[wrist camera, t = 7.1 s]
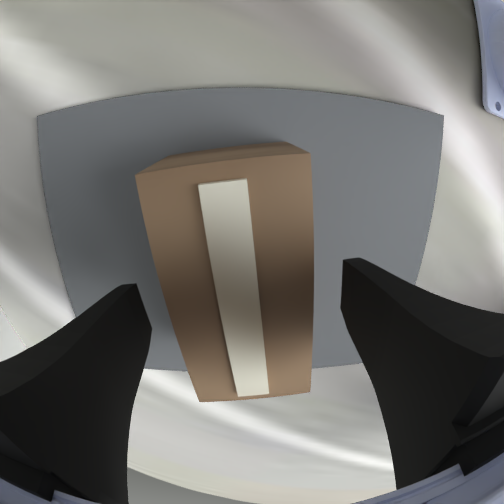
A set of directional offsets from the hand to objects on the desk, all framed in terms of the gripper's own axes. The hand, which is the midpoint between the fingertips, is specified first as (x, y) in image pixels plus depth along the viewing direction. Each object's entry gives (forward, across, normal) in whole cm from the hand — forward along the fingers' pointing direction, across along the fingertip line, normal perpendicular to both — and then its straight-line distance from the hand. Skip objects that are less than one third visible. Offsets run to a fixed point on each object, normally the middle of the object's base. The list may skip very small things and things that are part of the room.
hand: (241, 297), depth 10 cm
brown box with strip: (+3, 0, 0) cm, 3 cm away
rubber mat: (+3, 0, 0) cm, 3 cm away
